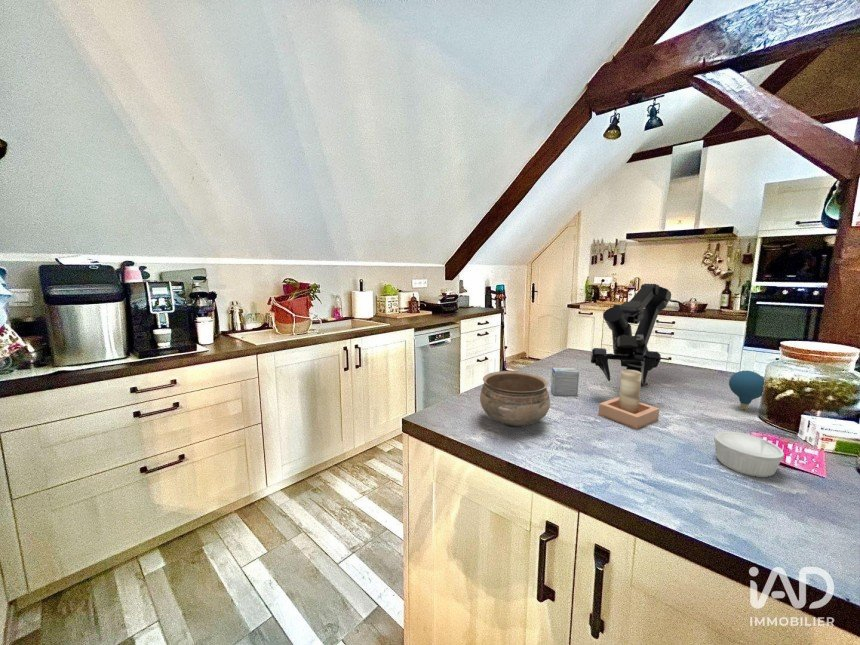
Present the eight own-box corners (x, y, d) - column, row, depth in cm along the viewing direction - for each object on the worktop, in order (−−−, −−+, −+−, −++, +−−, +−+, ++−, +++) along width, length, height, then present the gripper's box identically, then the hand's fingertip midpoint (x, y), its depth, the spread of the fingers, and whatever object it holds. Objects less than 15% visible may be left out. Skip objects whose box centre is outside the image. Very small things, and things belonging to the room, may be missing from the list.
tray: (620, 406, 108) (621, 396, 107) (658, 420, 98) (659, 408, 98) (598, 414, 102) (599, 403, 102) (636, 429, 93) (637, 417, 92)
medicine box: (573, 391, 121) (575, 367, 119) (577, 396, 116) (579, 371, 115) (550, 391, 122) (551, 367, 120) (553, 395, 117) (554, 371, 116)
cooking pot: (492, 401, 113) (493, 364, 111) (554, 411, 105) (556, 372, 103) (466, 434, 91) (466, 390, 89) (541, 450, 83) (544, 402, 81)
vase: (624, 410, 104) (627, 368, 102) (641, 416, 99) (645, 372, 97) (614, 414, 101) (617, 371, 99) (631, 420, 97) (635, 375, 95)
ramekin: (795, 484, 70) (799, 459, 69) (731, 477, 72) (735, 454, 71) (755, 454, 81) (759, 433, 80) (701, 450, 83) (703, 429, 82)
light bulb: (753, 405, 108) (759, 368, 106) (769, 417, 100) (775, 376, 98) (720, 402, 110) (725, 366, 108) (733, 413, 103) (739, 374, 101)
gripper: (594, 323, 110) (595, 366, 102) (662, 325, 104) (670, 372, 96) (589, 342, 119) (591, 383, 111) (652, 345, 113) (659, 389, 105)
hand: (626, 382), depth 105 cm, fingers open, 9 cm apart
